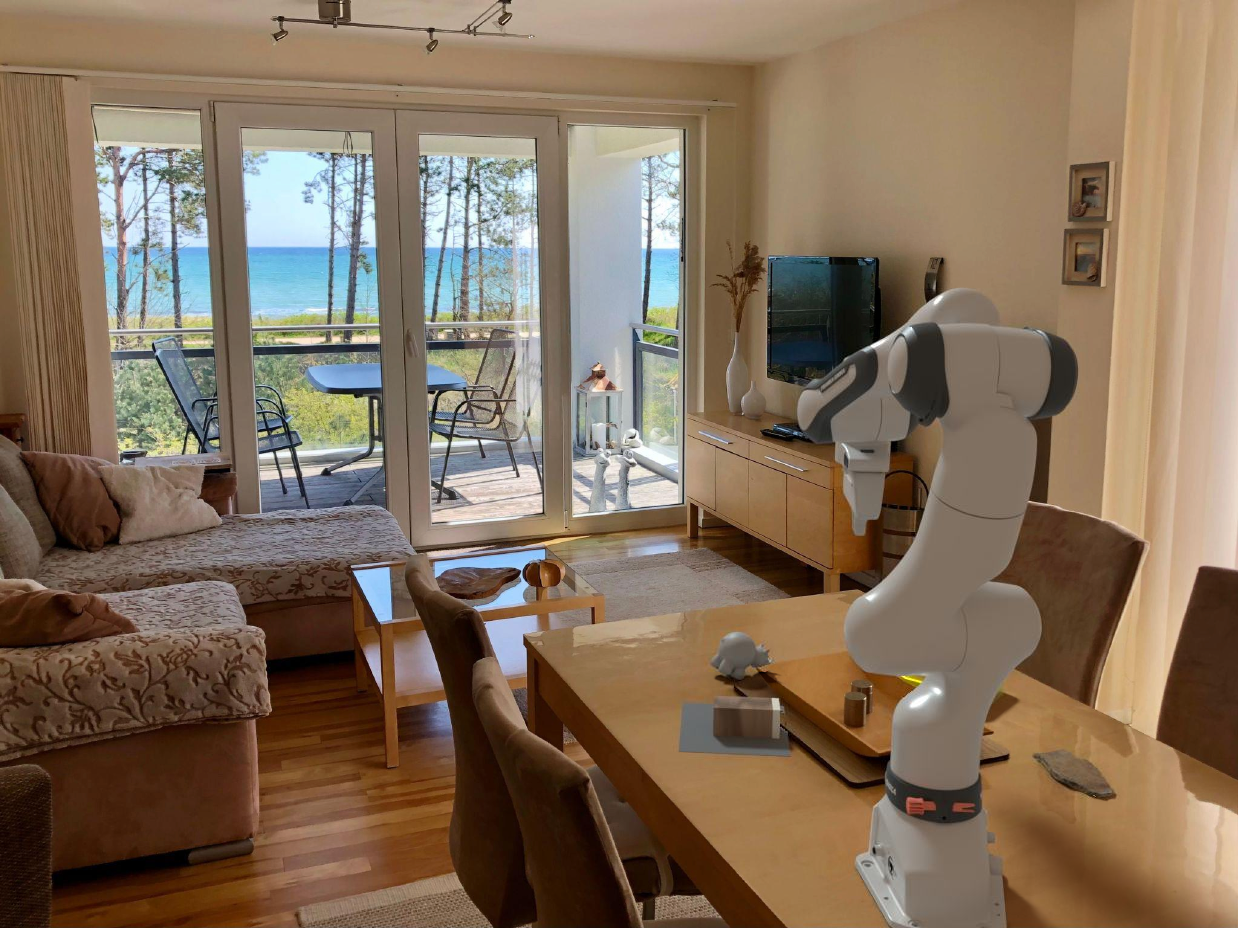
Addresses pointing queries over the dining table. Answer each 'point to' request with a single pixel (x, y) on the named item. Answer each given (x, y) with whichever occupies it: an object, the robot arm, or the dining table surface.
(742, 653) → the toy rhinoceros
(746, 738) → the rubber mat
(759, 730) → the walnut block
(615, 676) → the dining table surface
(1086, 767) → the grey flat rock
